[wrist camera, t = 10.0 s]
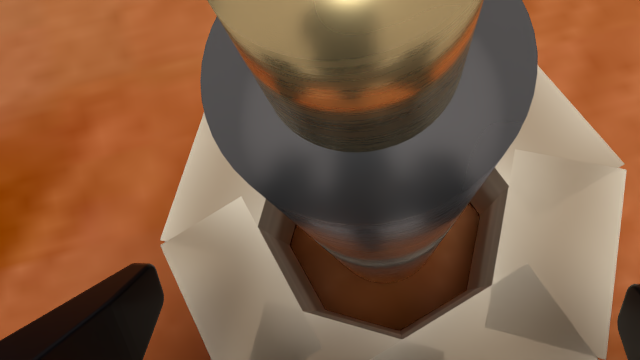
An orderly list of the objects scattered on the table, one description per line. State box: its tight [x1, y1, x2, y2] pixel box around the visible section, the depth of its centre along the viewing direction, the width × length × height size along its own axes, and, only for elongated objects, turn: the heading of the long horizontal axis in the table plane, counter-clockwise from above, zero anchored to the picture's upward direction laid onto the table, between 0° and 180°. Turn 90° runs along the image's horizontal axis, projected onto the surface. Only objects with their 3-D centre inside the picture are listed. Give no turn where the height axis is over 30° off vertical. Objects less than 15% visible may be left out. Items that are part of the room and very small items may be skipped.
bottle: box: [201, 0, 537, 283], centre depth 11 cm, size 4×4×15 cm
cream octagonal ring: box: [160, 65, 626, 360], centre depth 16 cm, size 13×13×4 cm
